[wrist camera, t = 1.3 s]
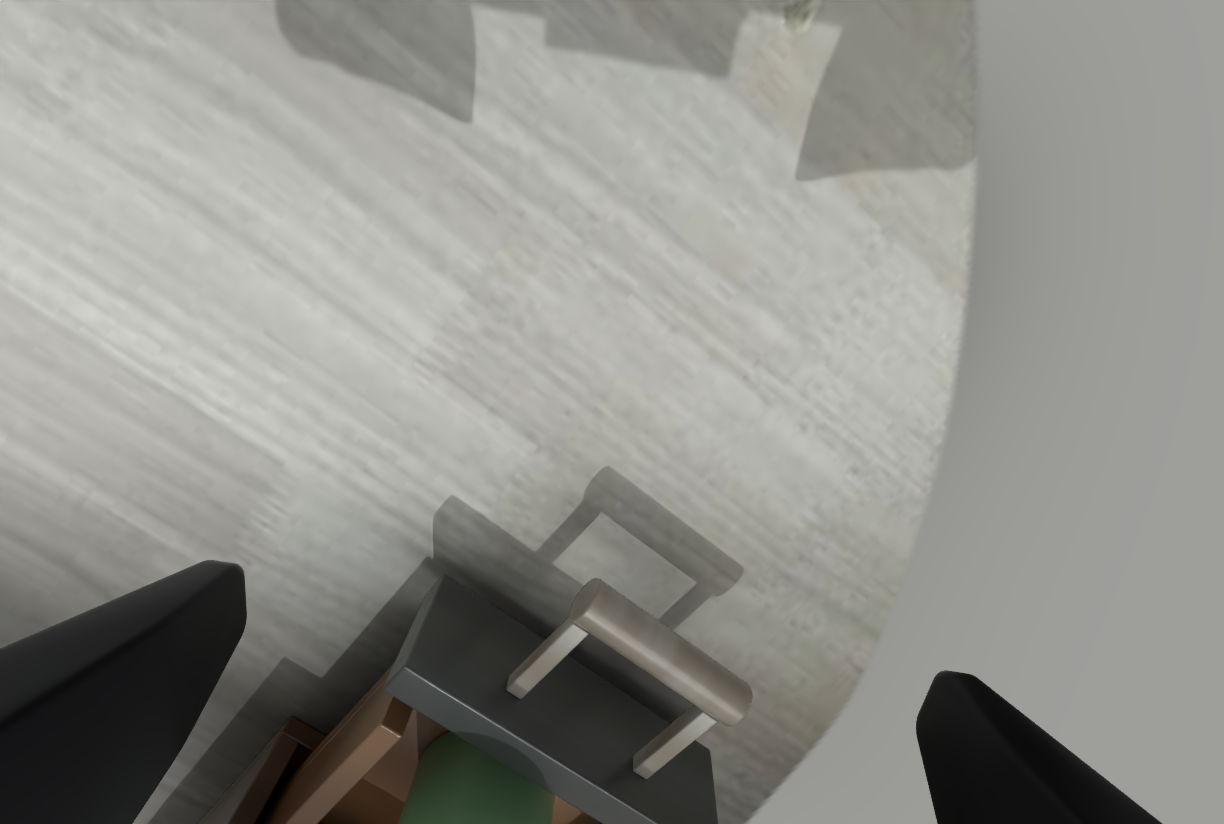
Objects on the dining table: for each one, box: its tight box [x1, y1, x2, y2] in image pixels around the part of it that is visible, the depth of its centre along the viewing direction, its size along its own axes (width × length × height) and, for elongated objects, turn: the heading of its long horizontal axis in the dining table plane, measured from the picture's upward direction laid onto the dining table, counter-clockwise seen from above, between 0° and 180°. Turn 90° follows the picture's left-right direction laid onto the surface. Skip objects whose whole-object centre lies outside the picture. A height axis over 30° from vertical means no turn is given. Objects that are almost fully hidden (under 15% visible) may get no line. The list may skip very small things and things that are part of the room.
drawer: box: [259, 574, 752, 824], centre depth 23 cm, size 17×12×4 cm
